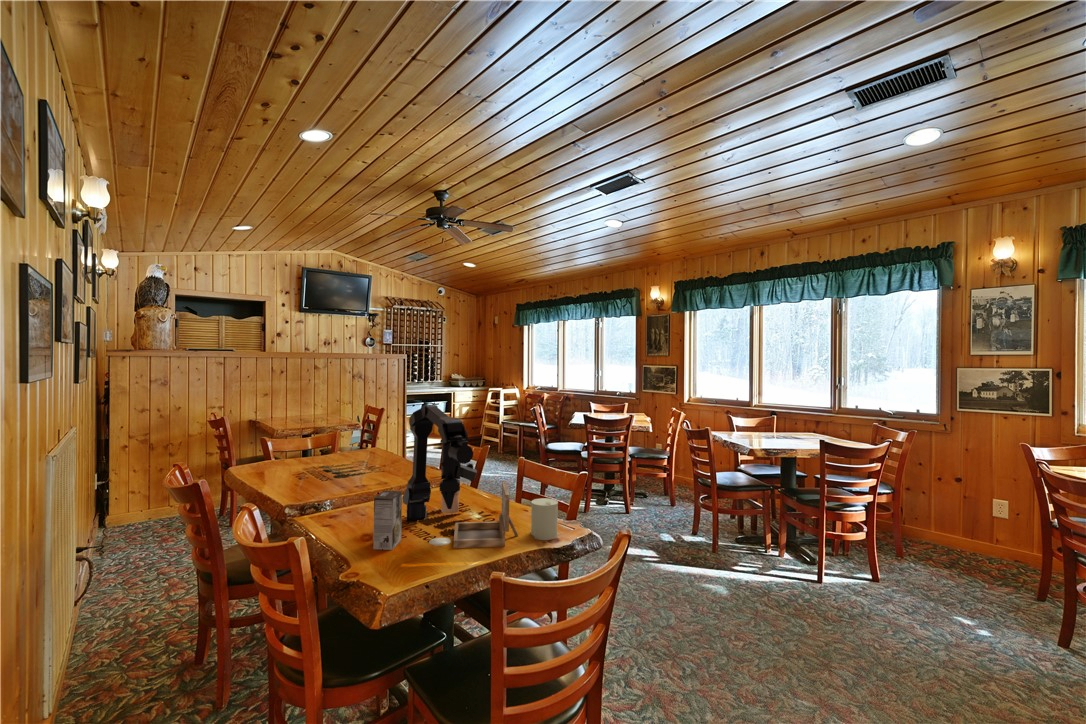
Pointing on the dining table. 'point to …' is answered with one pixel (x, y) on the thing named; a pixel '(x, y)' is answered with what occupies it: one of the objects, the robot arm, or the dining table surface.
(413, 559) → the dining table surface
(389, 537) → the coffee box
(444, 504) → the terracotta pot
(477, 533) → the open wooden box
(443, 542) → the saucer
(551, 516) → the can
